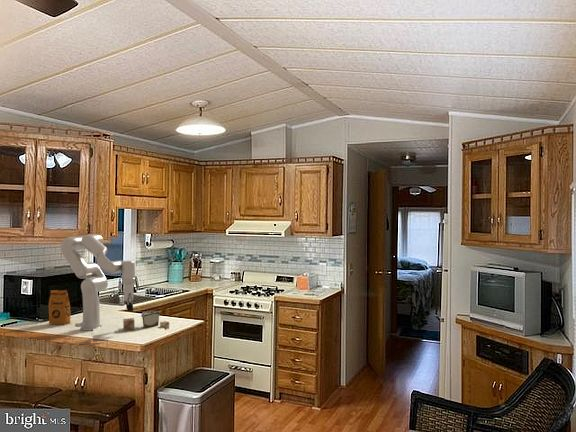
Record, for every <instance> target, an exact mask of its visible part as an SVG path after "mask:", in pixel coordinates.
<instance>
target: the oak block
mask: <svg viewBox="0 0 576 432" xmlns="http://www.w3.org/2000/svg"><path fill="white" fill-rule="evenodd" d="M159 324H160V325H159V326H160V327H161V328H164V330H168V329H170V321H167V320H165V321H159Z"/></svg>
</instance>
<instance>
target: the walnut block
mask: <svg viewBox="0 0 576 432" xmlns="http://www.w3.org/2000/svg"><path fill="white" fill-rule="evenodd" d="M122 321H123V326H122V328H123V329H124V331H128V332H131V331H130V330H135V327H136V326H135V318H134V317H131V318H122Z"/></svg>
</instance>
